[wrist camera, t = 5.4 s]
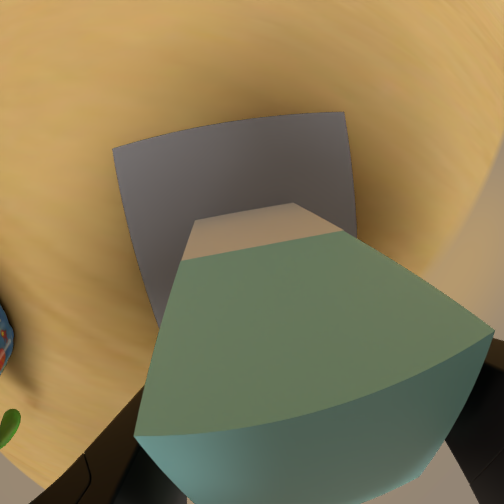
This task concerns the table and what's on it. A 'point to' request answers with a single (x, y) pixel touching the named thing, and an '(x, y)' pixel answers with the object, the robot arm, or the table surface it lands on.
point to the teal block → (304, 374)
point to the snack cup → (3, 345)
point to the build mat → (229, 182)
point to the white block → (253, 229)
